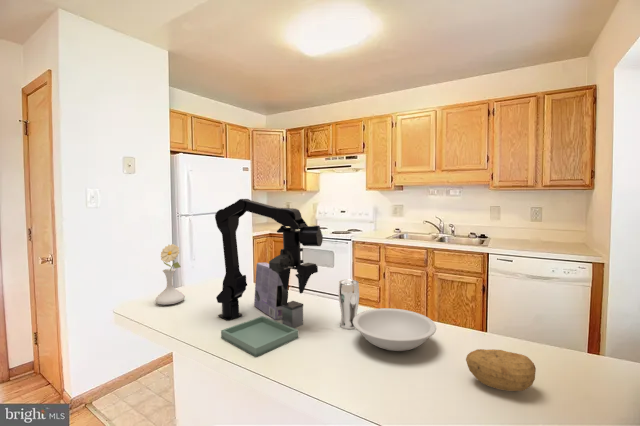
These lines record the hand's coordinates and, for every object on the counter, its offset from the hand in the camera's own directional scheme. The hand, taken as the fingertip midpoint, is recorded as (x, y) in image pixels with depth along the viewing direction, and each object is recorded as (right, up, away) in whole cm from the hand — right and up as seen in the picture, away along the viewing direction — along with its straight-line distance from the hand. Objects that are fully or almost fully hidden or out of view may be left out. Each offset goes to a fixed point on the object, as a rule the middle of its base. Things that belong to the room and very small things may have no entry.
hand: (293, 291), depth 110 cm
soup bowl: (+31, -12, -14) cm, 36 cm away
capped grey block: (0, -12, +1) cm, 12 cm away
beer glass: (+19, -12, 0) cm, 22 cm away
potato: (+50, -13, -36) cm, 63 cm away
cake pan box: (-10, -11, +13) cm, 20 cm away
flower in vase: (-53, -11, +25) cm, 59 cm away
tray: (-10, -12, -9) cm, 18 cm away
